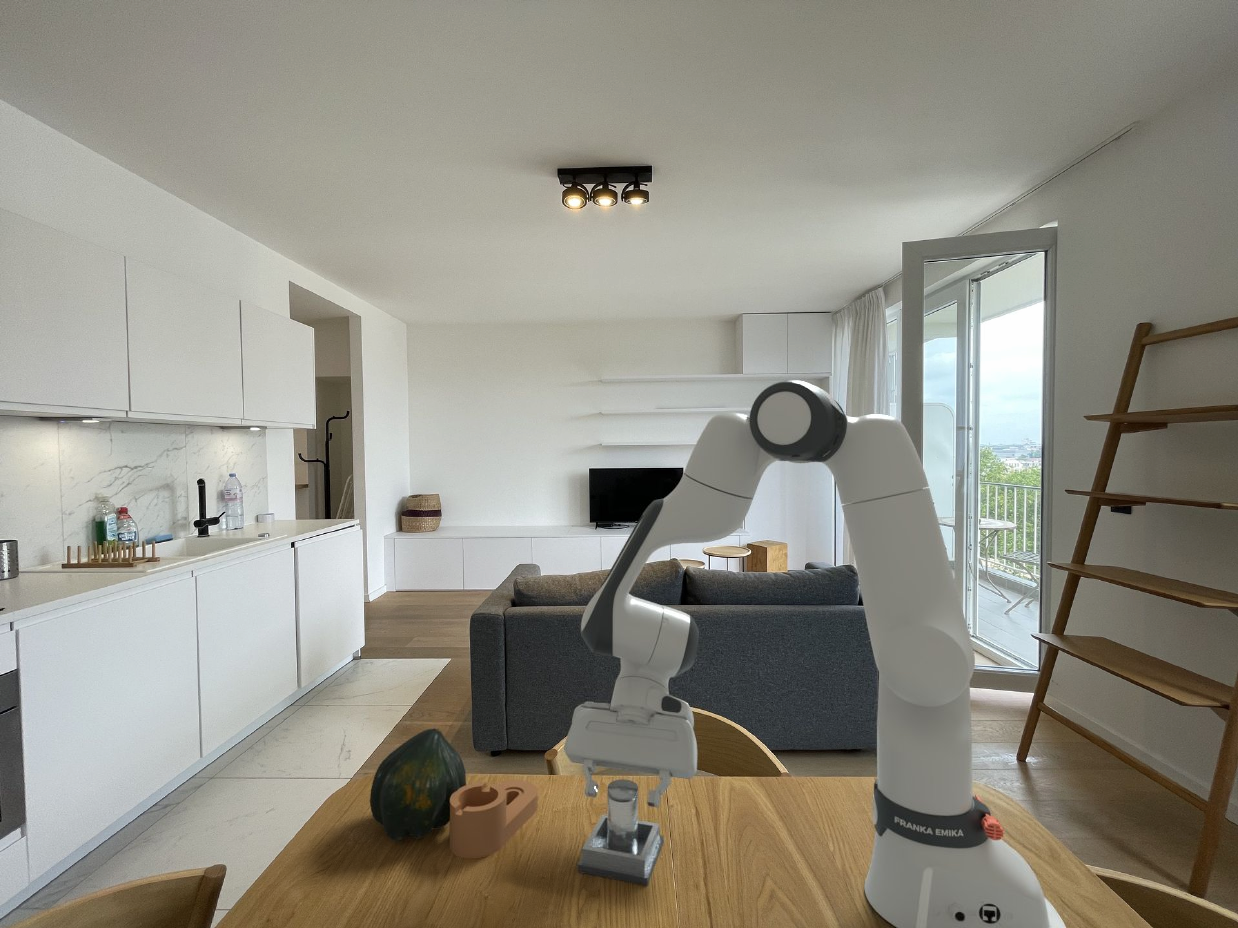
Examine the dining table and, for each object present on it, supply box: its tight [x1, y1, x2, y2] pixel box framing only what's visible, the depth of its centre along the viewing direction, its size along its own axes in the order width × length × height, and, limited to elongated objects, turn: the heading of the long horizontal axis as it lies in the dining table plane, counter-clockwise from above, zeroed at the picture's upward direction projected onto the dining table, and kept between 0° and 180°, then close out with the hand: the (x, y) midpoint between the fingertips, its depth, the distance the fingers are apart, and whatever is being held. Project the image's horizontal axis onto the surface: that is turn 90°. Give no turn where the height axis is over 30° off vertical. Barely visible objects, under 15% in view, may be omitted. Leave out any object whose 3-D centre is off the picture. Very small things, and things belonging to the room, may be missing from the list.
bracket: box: [449, 779, 539, 859], centre depth 97 cm, size 18×8×7 cm, turn 158°
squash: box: [369, 727, 467, 842], centre depth 97 cm, size 14×15×15 cm
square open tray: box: [576, 813, 665, 886], centre depth 89 cm, size 10×10×3 cm
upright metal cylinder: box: [606, 779, 639, 855], centre depth 89 cm, size 4×4×9 cm
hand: (621, 800), depth 88 cm, fingers open, 8 cm apart
